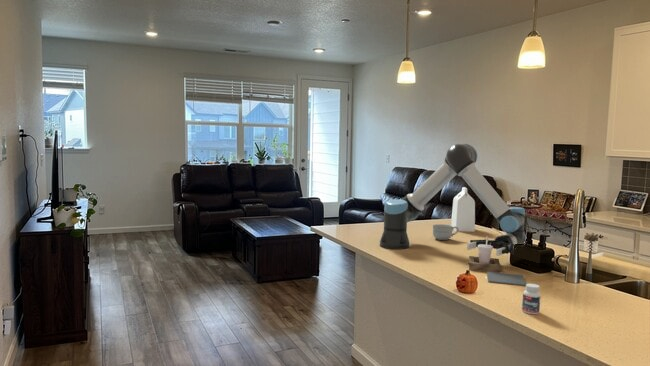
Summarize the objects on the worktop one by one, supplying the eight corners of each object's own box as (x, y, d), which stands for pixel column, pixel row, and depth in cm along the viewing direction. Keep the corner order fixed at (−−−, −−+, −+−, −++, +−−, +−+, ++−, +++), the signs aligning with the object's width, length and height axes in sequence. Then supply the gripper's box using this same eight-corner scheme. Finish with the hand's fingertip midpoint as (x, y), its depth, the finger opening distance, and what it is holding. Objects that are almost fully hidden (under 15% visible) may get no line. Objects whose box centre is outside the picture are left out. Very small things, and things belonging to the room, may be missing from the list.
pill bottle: (521, 313, 154) (523, 286, 153) (521, 307, 159) (523, 282, 158) (539, 315, 152) (541, 288, 151) (539, 310, 157) (541, 284, 156)
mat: (488, 282, 186) (488, 280, 186) (486, 272, 200) (487, 271, 200) (526, 286, 182) (526, 284, 182) (522, 276, 196) (522, 274, 196)
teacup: (430, 240, 261) (431, 225, 260) (433, 236, 271) (434, 222, 270) (456, 242, 256) (457, 228, 255) (458, 238, 266) (459, 224, 265)
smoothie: (489, 270, 203) (491, 238, 202) (474, 267, 207) (476, 236, 205) (493, 267, 209) (495, 235, 207) (478, 264, 212) (480, 233, 211)
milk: (474, 231, 288) (477, 189, 286) (455, 231, 289) (457, 188, 286) (469, 227, 300) (471, 186, 298) (450, 227, 301) (452, 186, 298)
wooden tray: (468, 269, 204) (469, 262, 203) (468, 262, 215) (469, 256, 215) (499, 272, 200) (500, 265, 200) (498, 265, 212) (498, 258, 212)
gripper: (531, 256, 211) (509, 264, 196) (479, 245, 229) (456, 252, 214) (532, 239, 210) (510, 246, 196) (480, 230, 228) (457, 236, 214)
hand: (482, 249), depth 205 cm, fingers open, 13 cm apart
